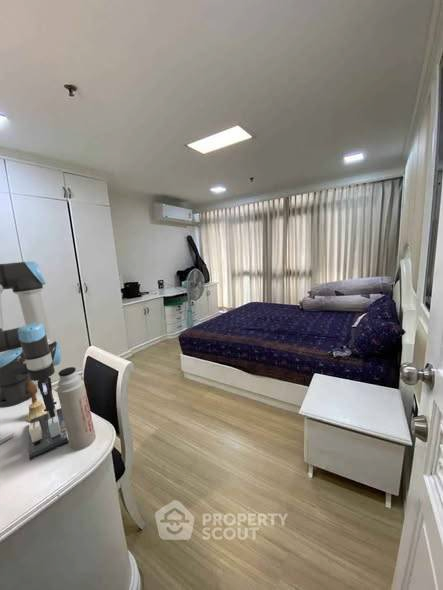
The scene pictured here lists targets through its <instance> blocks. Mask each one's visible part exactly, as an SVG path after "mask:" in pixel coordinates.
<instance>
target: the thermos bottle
mask: <svg viewBox="0 0 443 590" xmlns="http://www.w3.org/2000/svg"><path fill="white" fill-rule="evenodd" d="M76 370H77V369H76V367H74V366H71V367H66V368H63V369H61V370H59V372H58V376H59V381H58V382H57V386H58V387H57V389H56V391H57V392H56V393H57V397H58V400H59V404H60V405H59V406H60V408H61V409H62V414H63V418H64V422H65V426H66V432H67V438H68V443H69V447H70V449H71V450H72V451H81V450H84V449H86V448H88V447H90V446H91V445H92V444H93V443H94V442H95V440H96V431H95V426H94V422H93V417H92V413H91V407H90V404H89V399H88V395H87V390H86V386H85V381H84V379H82V377H81V375H80V374H78V373H77V371H76Z"/></svg>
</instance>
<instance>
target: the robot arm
mask: <svg viewBox="0 0 443 590" xmlns="http://www.w3.org/2000/svg"><path fill="white" fill-rule="evenodd" d="M46 284H47V283H46V281H45V278H44V276H43V273H42V270H41V268H40V266H39V263H37V262H36V261H21V262H9V263H0V295H1V294H2V293H3V291H5V290H10V289H11V290H12V293H13V294H15V295H17V296H18V297H17V298H18V299H19V304H20V308H21V312H22V317H23V320H24V323H25V324H24V325H23V326H21V327H15V328H10V329H6V330H4V323H3V322H4V321H3V313H2V311H3V310H2V309H3V308H2V300H1V299H2V297H1V296H0V407H2V408H7V407H13V406H15V405H19V404H22V403H24V402H25V401H28V400H29V399H31V395H30V394H29V392H28V389H27V387H28V382H29V381H32V382H33V384H34V385H35V388H36V393H35V395H37V394H38V389H39V392H40V395H41V397H42V400H43V403H44V404H43V405H44V407H45V408H46V409H44V412H45V411H47V414H48V418H49V419H51V418H54V417H56V416H57V418H58V415H57V411H56V410H57V407H56V405H57V401H55V399H54V395H53V386H52V378H51V376H52V375H54V374H55V367H56V366H58V365H60V363H61V362H62V356H61V355H62V354H61V346H60V345H61V344H60V342H59V341H57V340H56V339H55V338H53V337H52V336H51V332H50V328H49V323H48V320H47V314H46V311H45V308H44V303H43V298H42V293H41V291H42V290H43V289H44V286H43V285H46ZM34 382H37V384H35V383H34ZM58 422H59V419H58Z"/></svg>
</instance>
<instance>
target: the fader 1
mask: <svg viewBox="0 0 443 590" xmlns="http://www.w3.org/2000/svg"><path fill="white" fill-rule="evenodd" d="M28 432H29V433H30V436H31V439H32V443H33V442H35V441H36V442H39V441H40V439H42V430H41V426H40V422H39V421H36V422H34V423H31V424H30V423H29V426H28Z"/></svg>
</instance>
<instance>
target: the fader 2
mask: <svg viewBox="0 0 443 590" xmlns="http://www.w3.org/2000/svg"><path fill="white" fill-rule="evenodd" d="M48 426H49V430H50V434H51V438H52V437H57V436H58V435H59V434H61V432H60V426H59V422H58V418H57V416H56V417H54V418H51V419H49V420H48Z"/></svg>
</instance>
